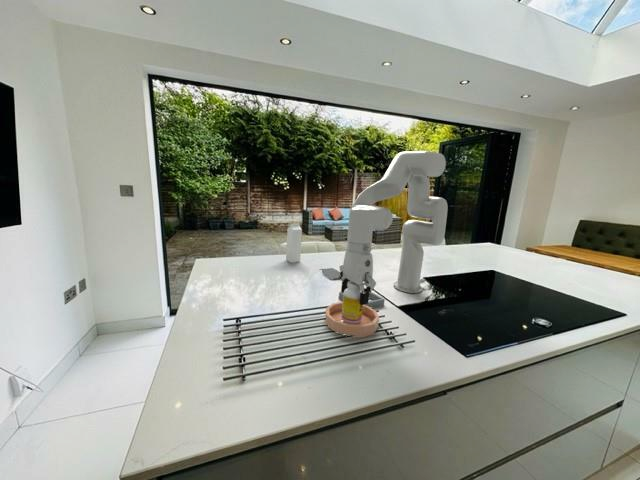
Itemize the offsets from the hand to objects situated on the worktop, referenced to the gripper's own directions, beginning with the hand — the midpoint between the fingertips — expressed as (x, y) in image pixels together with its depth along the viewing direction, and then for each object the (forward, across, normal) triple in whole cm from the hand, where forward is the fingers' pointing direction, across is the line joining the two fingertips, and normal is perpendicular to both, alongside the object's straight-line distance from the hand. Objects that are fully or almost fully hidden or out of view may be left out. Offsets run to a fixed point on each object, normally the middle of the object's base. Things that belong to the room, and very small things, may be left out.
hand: (354, 297), depth 88 cm
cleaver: (+10, +37, -20) cm, 44 cm away
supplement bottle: (+8, 0, 0) cm, 8 cm away
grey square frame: (+9, +12, -14) cm, 20 cm away
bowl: (+9, 0, 0) cm, 9 cm away
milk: (+10, +71, -12) cm, 72 cm away
